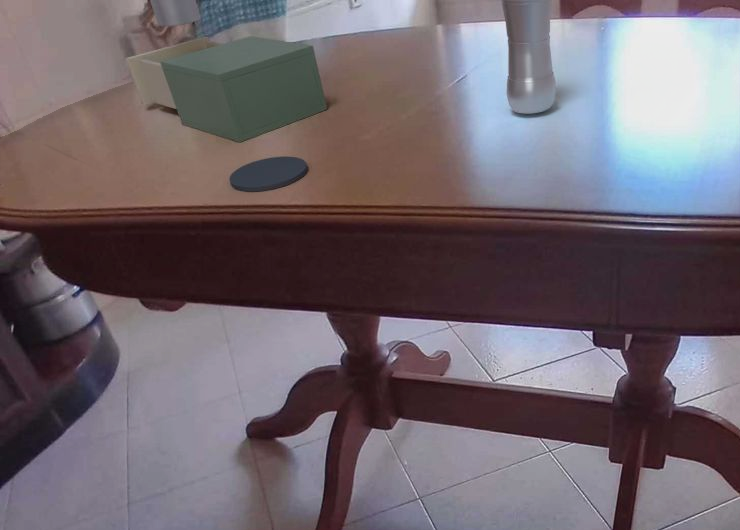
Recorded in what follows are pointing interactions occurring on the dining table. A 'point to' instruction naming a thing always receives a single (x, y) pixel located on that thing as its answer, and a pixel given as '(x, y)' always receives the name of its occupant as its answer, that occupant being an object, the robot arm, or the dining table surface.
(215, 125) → the green box
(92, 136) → the dining table surface
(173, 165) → the dining table surface
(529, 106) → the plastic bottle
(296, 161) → the coaster
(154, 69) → the drawer
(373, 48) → the dining table surface
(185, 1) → the gray cup
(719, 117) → the dining table surface
